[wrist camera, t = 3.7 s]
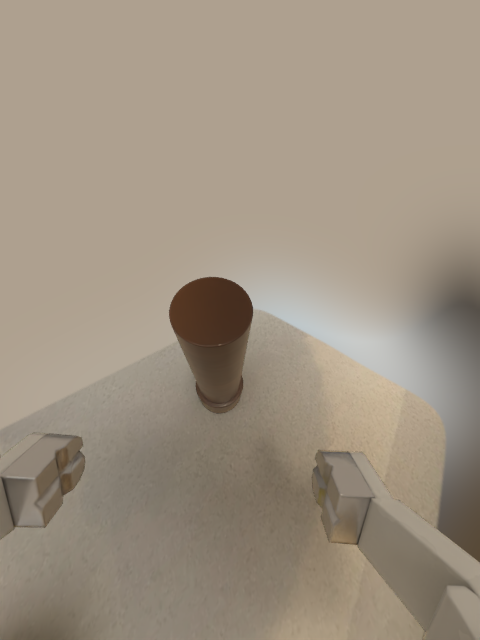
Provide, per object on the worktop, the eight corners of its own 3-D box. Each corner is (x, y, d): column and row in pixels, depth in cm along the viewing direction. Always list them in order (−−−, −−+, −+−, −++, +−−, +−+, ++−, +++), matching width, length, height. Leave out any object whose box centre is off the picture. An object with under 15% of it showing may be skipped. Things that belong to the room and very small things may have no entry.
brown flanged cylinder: (196, 412, 20) (149, 351, 8) (202, 369, 22) (171, 268, 10) (240, 414, 20) (261, 358, 8) (242, 372, 22) (261, 274, 10)
